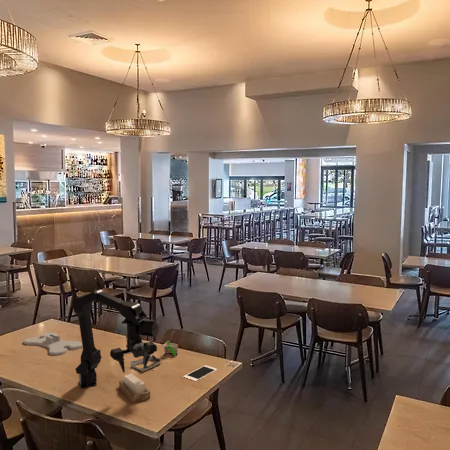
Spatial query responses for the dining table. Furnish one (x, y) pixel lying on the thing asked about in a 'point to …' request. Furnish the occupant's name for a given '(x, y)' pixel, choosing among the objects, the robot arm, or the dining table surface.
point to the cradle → (131, 395)
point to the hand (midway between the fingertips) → (134, 370)
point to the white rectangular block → (134, 384)
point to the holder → (53, 343)
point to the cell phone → (200, 373)
